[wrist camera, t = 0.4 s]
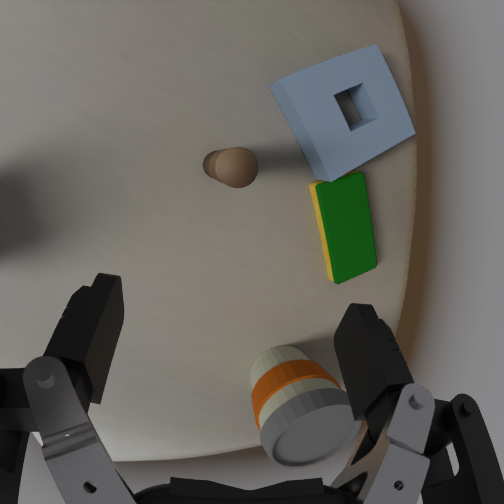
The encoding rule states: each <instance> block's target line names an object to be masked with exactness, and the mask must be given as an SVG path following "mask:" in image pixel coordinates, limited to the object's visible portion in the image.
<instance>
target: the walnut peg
mask: <svg viewBox="0 0 504 504" xmlns="http://www.w3.org/2000/svg"><path fill="white" fill-rule="evenodd" d="M203 168H204V171H205V173H206V174H207V175H208V176H209V177H211V178H213V179H216V180H218V181H220V182H222V183H224V184H226V185H228V186H230V187H233V188H243V187H246V186H248V185H249V184H251V183H252V182H253V181H254V179H255V178H256V176H257V173H258V162H257V159H256V157H255V156H254V154H253V153H252V152H251V151H249V150H247V149H245V148H241V147H236V148H230V149H224V150H219V151H213V152H211V153H209V154H208V155H207V156H206V157H205V159H204V162H203Z"/></svg>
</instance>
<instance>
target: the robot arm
mask: <svg viewBox="0 0 504 504" xmlns="http://www.w3.org/2000/svg"><path fill="white" fill-rule="evenodd" d="M123 320H124V303H123V293H122V282H121V277H120V276H117V275H111V274H104V273H98V274H97V276H96V278H95V280H94V282H93V284H92V286H91V287H89V286H82V287H81V288H80V289H78V290H77V291H76V292H75V293H74V294H73V295H72V296H71V298H70V300H69V302H68V304H67V306H66V309H65V310H64V312H63V314H62V318H60V320H59V322H58V324H57V326H56V329H55V331H54V333H53V335H52V337H51V339H50V341H49V344H48V346H47V348H46V350H45V352H44V354H43V356H41V357H38V358H35V359H33V360H32V361H31V362H29V364H28V365H27V366H26V367H25V368H8V369H0V504H18V496H19V487H20V481H21V474H22V469H23V463H24V458H25V452H26V447H27V443H28V438H29V434H30V432H39V433H40V436H41V438H42V441H43V446H42V452H43V456H44V458H45V461H46V463H47V466H48V468H49V470H50V472H51V475H52V477H53V479H54V481H55V483H56V485H57V487H58V489H59V491H60V493H61V495H62V497H63V499H64V501H65V503H66V504H416V503H417V501H418V498H419V495H420V492H421V495H422V499H423V504H504V480H503V476H502V473H501V469H500V466H499V463H498V460H497V457H496V454H495V451H494V447H493V445H492V442H491V439H490V436H489V433H488V430H487V428H486V425H485V423H484V420H483V417H482V415H481V412H480V410H479V407H478V405H477V403H476V402H475V400H474V399H473V398H472V397H470V396H469V395H466V394H458V395H457V396H455V397H454V398H453V399H452V400H451V401H450V402H448V401H443V400H438V399H434V398H433V396H432V394H431V393H430V392H429V390H428V389H426V388H425V387H424V386H422V385H420V384H415V383H414V381H413V378H412V376H411V374H410V371H409V369H408V367H407V364H406V362H405V360H404V357H403V355H402V353H401V351H399V349H400V348H399V346H398V344H397V342H395V340H396V339H395V337H394V335H393V333H392V331H391V329H390V328H389V327H388V325H387V324H386V323H385V322H384V321H383V320H382V319H379V318H378V316H377V314H376V312H375V310H374V308H373V306H372V305H370V304H357V303H352V304H350V305H349V307H348V308H347V310H346V312H345V314H344V316H343V318H342V320H341V322H340V324H339V326H338V328H337V330H336V332H335V335H334V348H335V352H336V355H337V359H338V362H339V366H340V369H341V373H342V376H343V380H344V383H345V387H346V391H347V394H348V398H349V402H350V405H351V409H352V413H353V417H354V421H361V420H366V421H367V426H366V427H365V429H364V430H363V432H362V435H361V437H360V439H359V440H358V443H357V445H356V447H355V449H354V451H353V453H352V455H351V456H350V459H349V460H348V462H347V464H346V466H345V468H344V469H343V471H342V472H341V473H340V474H339V475H338V476H337V477H336V479H335V480H334V481H333V483H332V484H331V485H330V486H326V485H323V481H322V478H314V479H304V480H291V481H285V482H281V483H278V484H275V485H271V486H267V487H264V488H260V489H256V490H243V489H239V488H235V487H231V486H227V485H223V484H220V483H216V482H212V481H208V480H194V479H184V478H175V477H171V479H170V483H169V484H161V485H156V486H153V487H149V488H146V489H144V490H142V491H140V492H138V493H136V494H133V492H132V491H131V489H130V488H129V486H128V485H127V483H126V481H125V480H124V478H123V477H122V475H121V474H120V472H119V470H118V469H117V467H116V466H115V464H114V462H113V461H112V459H111V457H110V456H109V454H108V452H107V450H106V449H105V447H104V445H103V443H102V441H101V439H100V438H99V436H98V434H97V432H96V430H95V428H94V426H93V424H92V422H91V420H90V418H89V416H88V414H87V413H88V409H89V406H90V402H92V403H96V404H100V403H101V399H102V395H103V392H104V388H105V384H106V380H107V376H108V373H109V369H110V366H111V362H112V359H113V355H114V352H115V348H116V345H117V342H118V338H119V335H120V332H121V329H122V325H123ZM452 442H453V446H454V449H455V452H456V456H457V459H458V463H459V471H458V473H457V475H456V476H454V474H453V470H452V466H451V462H450V459H449V455H448V452H447V449H446V446H447V445H449V444H450V443H452Z"/></svg>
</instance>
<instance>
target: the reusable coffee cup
mask: <svg viewBox="0 0 504 504" xmlns="http://www.w3.org/2000/svg"><path fill="white" fill-rule="evenodd" d="M250 378H251V383H252V389H253V391H252V404H253V410H254V415H255V420H256V424H257V427H258V429H259V430H260V431H261V432H260V441H261V443H262V445H263V447H264V449H265V451H266V453H267V454H268V456H269V458H270V460H271V461H272V462H273V463H274V464H276V465H277V466H280V467H284V468H292V469H293V468H303V467H308V466H311V465H315V464H317V463H320V462H322V461H325V460H327V459H328V458H330V457H332V456H334V455H335V454H337V453H338V452H340V451H341V450H342V449H343V448H345V447H346V446H347V445H348V444H349V443H350V441H352V440H353V438H354V437H355V436H356V434H357V432H358V430H359V429H360V425H361V421H354V417H353V413H352V409H351V405H350V402H349V398H348V394H347V392H345V391H343V390H341V388H340V385H339V384H338V383H337V382H336V380H335V379H333V378H332V377H331V376H330V375H329V374H328V373H327V372H326V371H325V370H324V369H323V368H322V367H321V366H320V365H319V364H317V363H315V362H313V361H310V360H309V359H308V358H307V357H306V356H305V355H304V354H303V353H302V352H301V351H300V350H299V349H297V348H295V347H292V346H278V347H274V348H272V349H269V350H267V351H265V352H264V353H263V354H261V355H260V356H259V357H258V358H257V359H256V360H255V362H254V363H253V365H252V367H251V371H250Z"/></svg>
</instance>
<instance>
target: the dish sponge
mask: <svg viewBox="0 0 504 504" xmlns="http://www.w3.org/2000/svg"><path fill="white" fill-rule="evenodd" d="M310 190H311V195H312V199H313V203H314V208H315V212H316V217H317V222H318V226H319V231H320V236H321V241H322V246H323V251H324V256H325V261H326V266H327V272H328V277H329V279H330V280H332V281H333V282H334V283H336V284H340V283H342V282H345V281H347V280H349V279H351V278H354V277H356V276H358V275H361V274H363V273H365V272H367V271H369V270H372V269H374V268H376V266H377V258H376V250H375V241H374V234H373V227H372V220H371V213H370V207H369V201H368V195H367V189H366V183H365V178H364V173H362V172H361V171H350V172H348V173H346V174H344V175H342V176H341V177H339V178H337V179H336V180H334V181H332V182H328V181H323V180H319V181H316V182H312V183H311V184H310Z"/></svg>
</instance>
